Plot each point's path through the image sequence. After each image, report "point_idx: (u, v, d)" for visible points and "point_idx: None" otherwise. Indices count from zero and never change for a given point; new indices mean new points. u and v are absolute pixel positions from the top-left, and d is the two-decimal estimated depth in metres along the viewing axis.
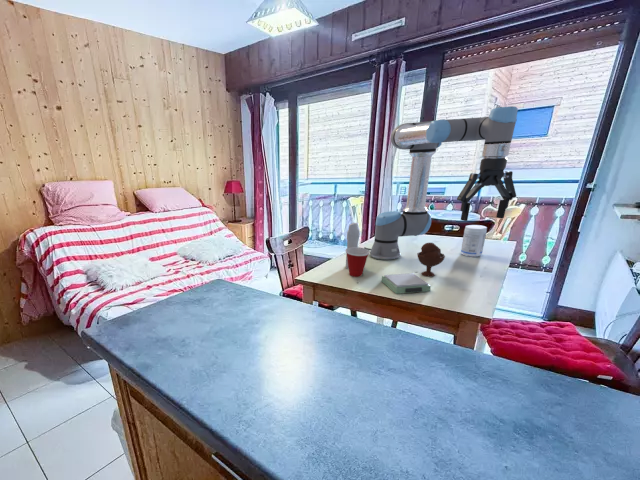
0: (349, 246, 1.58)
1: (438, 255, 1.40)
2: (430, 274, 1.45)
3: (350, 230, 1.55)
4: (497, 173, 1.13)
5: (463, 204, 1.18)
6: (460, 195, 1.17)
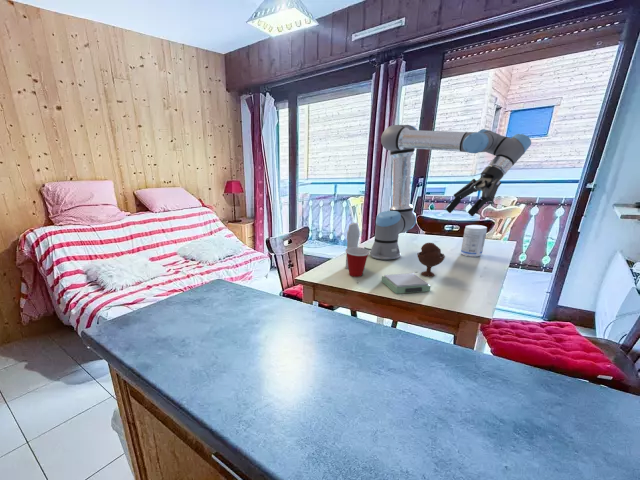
0: (349, 246, 1.58)
1: (438, 255, 1.40)
2: (430, 274, 1.45)
3: (350, 230, 1.55)
4: None
5: (484, 203, 1.30)
6: (491, 195, 1.28)
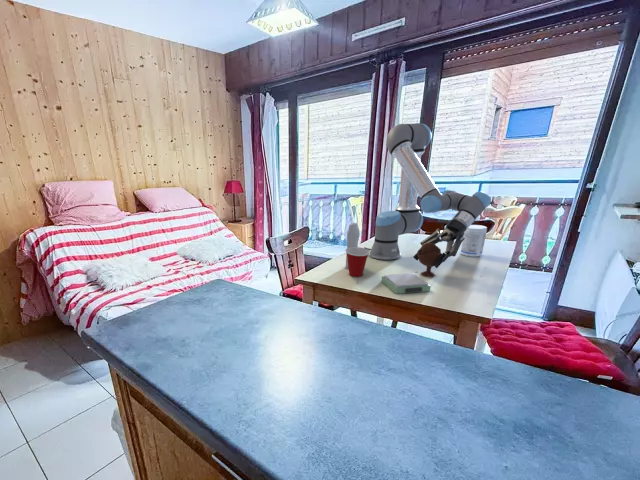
0: (349, 246, 1.58)
1: (438, 255, 1.40)
2: (430, 274, 1.45)
3: (350, 230, 1.55)
4: None
5: (447, 257, 1.38)
6: (454, 251, 1.36)
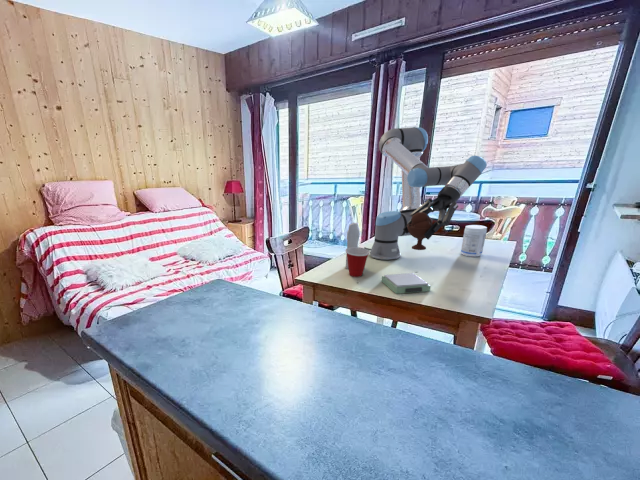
0: (349, 246, 1.58)
1: (429, 225, 1.27)
2: (421, 247, 1.33)
3: (350, 230, 1.55)
4: None
5: (439, 226, 1.25)
6: (447, 219, 1.23)
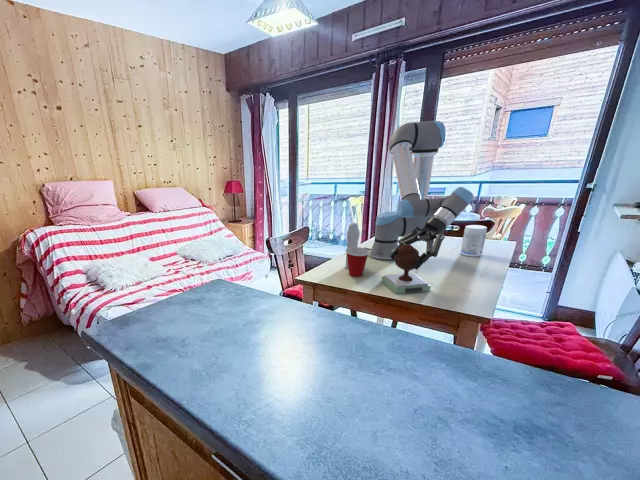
0: (349, 246, 1.58)
1: (415, 258, 1.28)
2: (408, 278, 1.34)
3: (350, 230, 1.55)
4: None
5: (428, 257, 1.25)
6: (435, 251, 1.23)
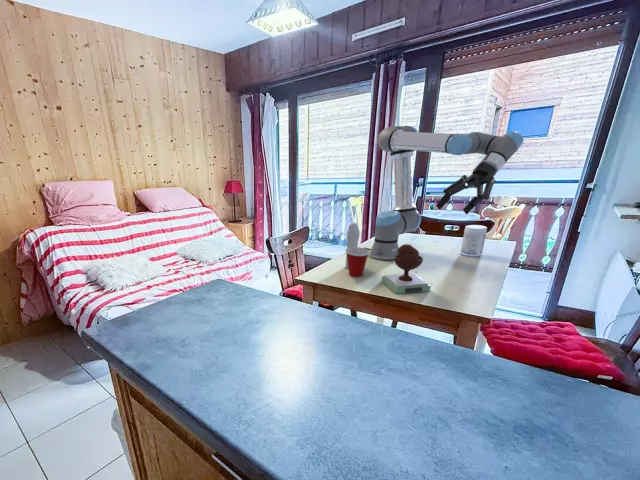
0: (349, 246, 1.58)
1: (415, 258, 1.28)
2: (408, 278, 1.34)
3: (350, 230, 1.55)
4: None
5: (479, 201, 1.25)
6: (487, 193, 1.23)
